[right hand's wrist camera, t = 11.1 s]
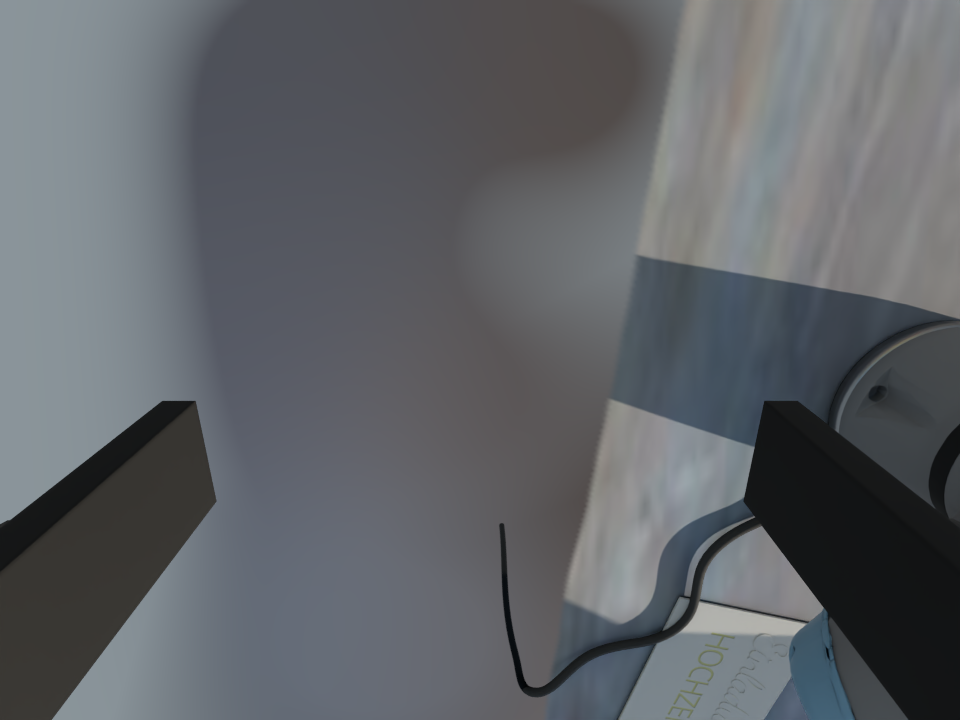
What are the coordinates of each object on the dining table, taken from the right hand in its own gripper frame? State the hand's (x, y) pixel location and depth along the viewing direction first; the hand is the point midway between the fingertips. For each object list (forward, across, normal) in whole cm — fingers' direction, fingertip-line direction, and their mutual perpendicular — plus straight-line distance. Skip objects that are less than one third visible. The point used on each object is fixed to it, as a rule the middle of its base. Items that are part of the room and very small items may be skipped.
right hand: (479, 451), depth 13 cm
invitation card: (+29, -24, +46) cm, 59 cm away
